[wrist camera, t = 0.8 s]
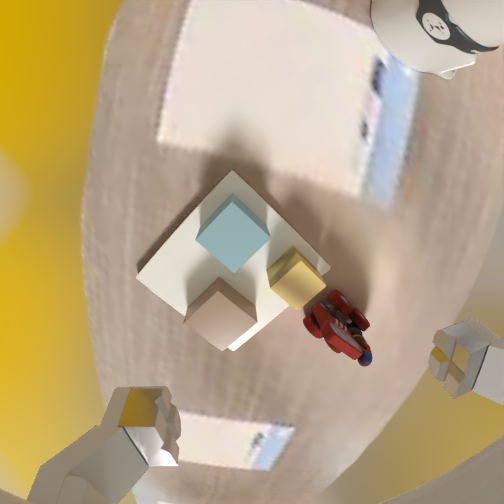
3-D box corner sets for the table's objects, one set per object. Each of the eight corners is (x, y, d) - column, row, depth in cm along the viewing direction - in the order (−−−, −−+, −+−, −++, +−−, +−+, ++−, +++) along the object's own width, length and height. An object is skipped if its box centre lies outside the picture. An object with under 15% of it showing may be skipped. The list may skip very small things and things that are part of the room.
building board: (232, 169, 36) (231, 174, 31) (328, 264, 42) (340, 281, 37) (137, 273, 41) (127, 291, 36) (233, 346, 47) (233, 368, 42)
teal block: (232, 193, 36) (231, 201, 32) (266, 225, 38) (271, 238, 33) (200, 226, 38) (195, 240, 33) (234, 256, 39) (234, 273, 35)
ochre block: (293, 245, 39) (300, 260, 35) (316, 268, 41) (326, 285, 36) (266, 270, 40) (270, 288, 36) (290, 292, 42) (297, 311, 37)
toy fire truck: (341, 346, 48) (359, 389, 39) (293, 310, 45) (307, 355, 35) (371, 320, 46) (396, 360, 37) (326, 279, 43) (349, 319, 33)
